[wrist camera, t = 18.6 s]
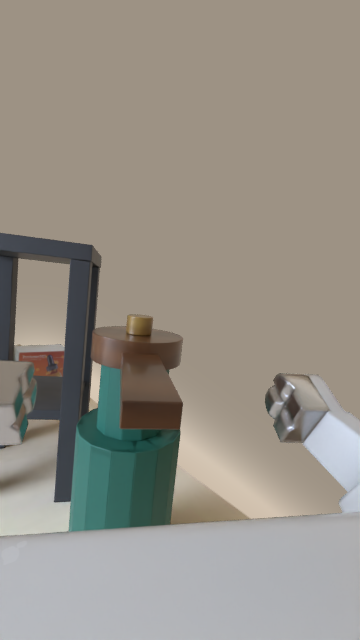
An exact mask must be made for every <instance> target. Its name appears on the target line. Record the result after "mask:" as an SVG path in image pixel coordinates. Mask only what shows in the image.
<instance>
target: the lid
mask: <svg viewBox="0 0 360 640" xmlns="http://www.w3.org/2000/svg"><path fill="white" fill-rule="evenodd" d="M152 324H153V317H151V316H145V315H136V314H130V315H128V316H127V326H112V327H101V328H96V329H94V330H93V332H92V344H91V359H92V360H93V361H95V362H96V363H99V364H101V365H104V366H107V367H111V368H116V369H120V415H119V428H120V429H180V424H181V416H182V407H183V402H182V400H181V398H180V396H179V395H178V392H177V390H176V389H175V387H174V385H173V383H172V381H171V379H170V377H169V375H168V373H167V371H166V370H169V369H173V368H175V367H177V366H179V365H180V361H181V352H182V343H183V338H182V337H181V336H180V335H177V334H174V333H171V332H167V331H162V330H156V329H152Z"/></svg>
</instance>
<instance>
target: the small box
mask: <svg viewBox="0 0 360 640" xmlns="http://www.w3.org/2000/svg"><path fill="white" fill-rule="evenodd" d="M64 349H65V347H63V346H62V345H61V344H55V345H28V346H20V345H14V356H13V360H14V361H28V362H33V363H34V368H35V372H34V374H33V375H34V376H58V377H63V364H64Z"/></svg>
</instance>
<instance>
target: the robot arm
mask: <svg viewBox="0 0 360 640" xmlns="http://www.w3.org/2000/svg"><path fill="white" fill-rule="evenodd" d="M34 372H35V368H34V363H33V362H28V361H14V360H0V445H21V444H22V441H23V438H24V435H25V432H26V429H27V426H28V420H27V415H28V414H29V413H31V412H32V411H33V408H34V405H35V401H36V395H37V382H36V380H35V379H34V378H33V374H34ZM273 381H274V384H275V385H274V386H272V387H270V388H269V389H268V392H267V393H266V397H265V404H266V409H267V411H268V414H269V415H270V416H271V417H273V419H275V421H274V425H273V426H274V428H275V430H276V433H277V435H278V437H279V439H280V442H286V443H303V445H304V446H305V447H306V448H307V449H308V451H309V452H310V453H311V454H312V455H313V456H314V457H315V458H316V459H317V460H318V461H319V462H320V463H321V464H322V465H323V466H324V467H325V468H326V469H327V471H328V472H329V473H330V474H331V475H332V476H333V477H334V478H335V479H336V480H337V481H338V482H339V483H340V484H341V485H342V486H343V487H344V488H345V489H346V490H347V492H348V493H347V494H345V495H344V496H343V497H342V498H341V499H340V501H339V505H340V507H341V509H342V512H343V513H335V514H318V515H303V516H289V517H274V518H260V519H245V520H230V521H216V522H201V523H187V524H172V525H157V526H143V527H128V528H114V529H99V530H85V531H70V532H56V533H41V534H26V535H12V536H0V640H360V420H359V419H358V418H357V417H355V416H354V415H352V414H351V413H350V412H345V411H344V410H343V408H342V407H341V405H340V404H339V403H338V401H337V399H336V398H335V397H334V395H333V393H332V392H331V391H330V389H329V388H328V386H327V385H326V383H325V382H324V380H323V379H322V378H321V377H320V376H319V375H311V374H287V373H286V374H285V373H279V374H278V375H276V377H275V378H274V380H273Z"/></svg>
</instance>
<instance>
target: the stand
mask: <svg viewBox="0 0 360 640" xmlns="http://www.w3.org/2000/svg"><path fill="white" fill-rule="evenodd" d="M18 258H21V259H29V260H38V261H46V262H55V263H64V264H70V275H69V291H68V305H67V320H66V334H65V335H66V336H65V349H64V364H63V377H58V376H34V375H33V378H34V379H35V380H36V382H37V395H36V401H35V405H34V408H33V411H32V412H31V413H29V414H28V415H27V419H45V420H60V423H59V438H58V453H57V468H56V483H55V497H54V502H67V501H71V493H72V479H73V466H74V452H75V439H76V426H77V424H78V422H79V421H80V419H81V417H82V416H83V415H85V414H87V413H88V412H89V400H90V387H91V373H92V361H93V360H92V359H91V344H92V332H93V330H94V329H95V323H96V309H97V297H98V285H99V272H100V267H101V256H100V254H99V253H98V252H97V251H96V249H95V248H94V247H93V246H92V245H87V244H80V243H72V242H65V241H57V240H50V239H42V238H35V237H27V236H20V235H12V234H5V233H0V360H13V356H14V335H15V314H16V293H17V274H18V273H17V272H18ZM5 446H6V445H0V448H5Z"/></svg>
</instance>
